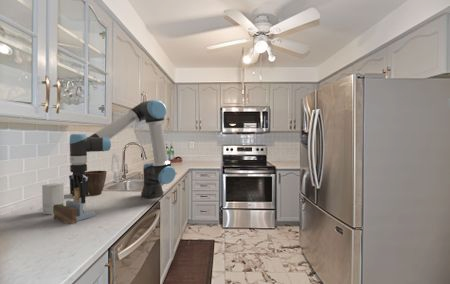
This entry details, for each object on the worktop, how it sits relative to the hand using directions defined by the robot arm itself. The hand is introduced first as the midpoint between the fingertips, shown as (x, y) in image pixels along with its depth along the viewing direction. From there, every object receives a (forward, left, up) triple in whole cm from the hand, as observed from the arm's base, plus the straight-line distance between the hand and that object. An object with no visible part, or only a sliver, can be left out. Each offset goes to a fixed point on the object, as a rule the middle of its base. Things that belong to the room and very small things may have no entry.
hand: (79, 208), depth 133 cm
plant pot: (-35, -39, -4) cm, 52 cm away
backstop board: (+7, 0, -4) cm, 8 cm away
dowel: (0, 0, 0) cm, 1 cm away
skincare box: (+2, -20, -4) cm, 21 cm away
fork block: (+1, 0, -4) cm, 4 cm away
